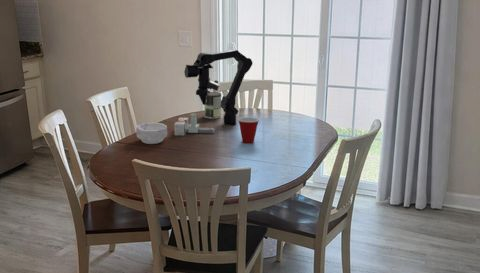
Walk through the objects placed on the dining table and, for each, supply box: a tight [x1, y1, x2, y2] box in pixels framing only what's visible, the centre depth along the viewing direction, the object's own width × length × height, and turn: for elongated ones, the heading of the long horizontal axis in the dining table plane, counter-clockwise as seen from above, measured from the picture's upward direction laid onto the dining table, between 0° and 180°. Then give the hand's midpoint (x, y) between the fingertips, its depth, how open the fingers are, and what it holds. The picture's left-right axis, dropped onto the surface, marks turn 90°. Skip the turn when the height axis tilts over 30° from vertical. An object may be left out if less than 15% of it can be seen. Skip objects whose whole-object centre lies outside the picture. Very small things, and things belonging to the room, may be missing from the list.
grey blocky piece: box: [174, 117, 190, 136], centre depth 263 cm, size 5×14×6 cm, turn 176°
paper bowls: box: [135, 122, 168, 145], centre depth 246 cm, size 15×15×8 cm
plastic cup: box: [237, 117, 260, 144], centre depth 247 cm, size 11×11×12 cm
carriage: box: [188, 113, 200, 134], centre depth 262 cm, size 5×5×9 cm
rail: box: [186, 127, 215, 134], centre depth 263 cm, size 14×3×2 cm, turn 86°
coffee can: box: [203, 91, 222, 120], centre depth 295 cm, size 10×10×14 cm
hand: (204, 104), depth 271 cm, fingers closed
